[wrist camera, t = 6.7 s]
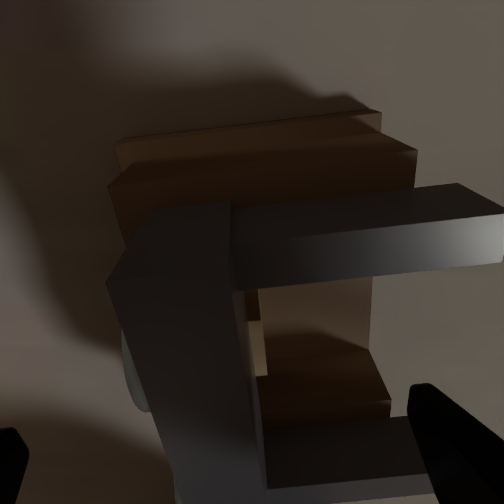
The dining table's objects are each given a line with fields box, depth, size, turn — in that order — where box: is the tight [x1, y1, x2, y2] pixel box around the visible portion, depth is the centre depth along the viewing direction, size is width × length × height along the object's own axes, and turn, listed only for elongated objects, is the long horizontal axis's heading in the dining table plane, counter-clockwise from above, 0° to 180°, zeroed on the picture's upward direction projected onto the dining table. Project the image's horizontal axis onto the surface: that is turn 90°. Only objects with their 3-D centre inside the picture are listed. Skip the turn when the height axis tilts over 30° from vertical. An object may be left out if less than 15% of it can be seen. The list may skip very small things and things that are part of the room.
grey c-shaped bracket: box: [106, 183, 504, 504], centre depth 9 cm, size 9×7×3 cm
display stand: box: [107, 109, 418, 431], centre depth 11 cm, size 11×7×3 cm, turn 6°
